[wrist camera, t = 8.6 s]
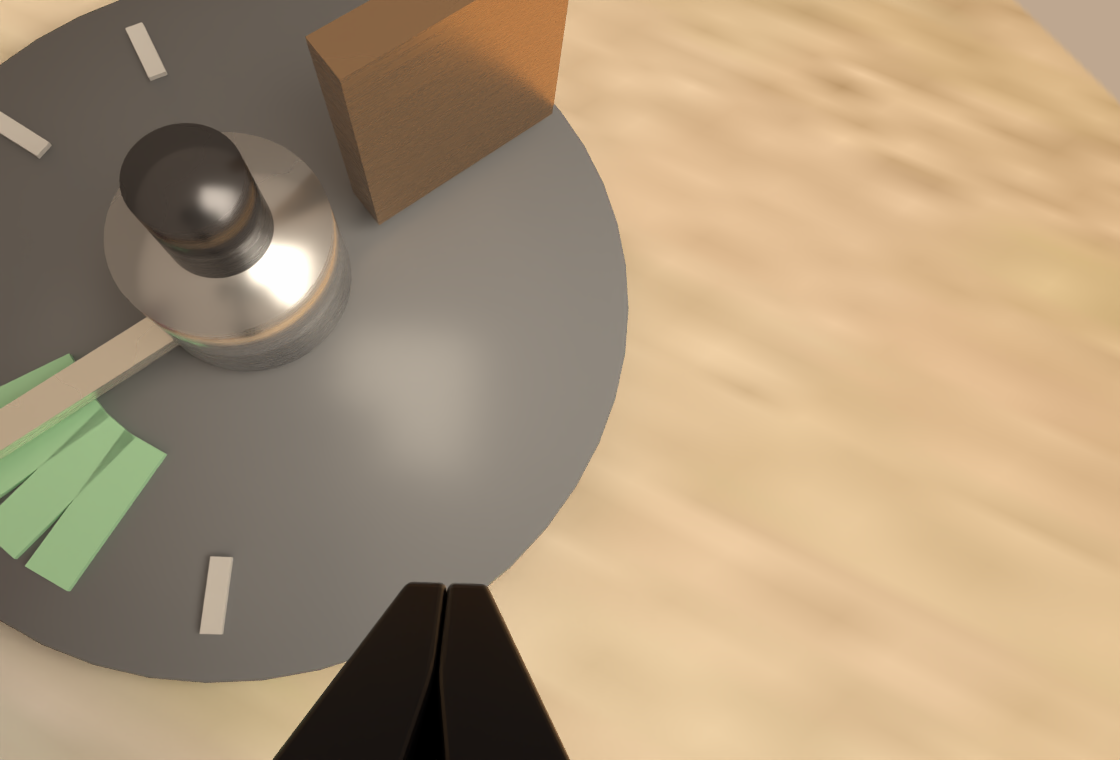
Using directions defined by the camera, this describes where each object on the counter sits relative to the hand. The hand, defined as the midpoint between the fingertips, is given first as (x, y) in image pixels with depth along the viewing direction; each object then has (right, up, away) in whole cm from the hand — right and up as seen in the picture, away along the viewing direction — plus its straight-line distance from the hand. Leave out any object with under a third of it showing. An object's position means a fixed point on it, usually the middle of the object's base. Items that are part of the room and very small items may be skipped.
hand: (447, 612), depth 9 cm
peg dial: (-7, +5, +13) cm, 15 cm away
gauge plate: (-7, +5, +14) cm, 16 cm away
